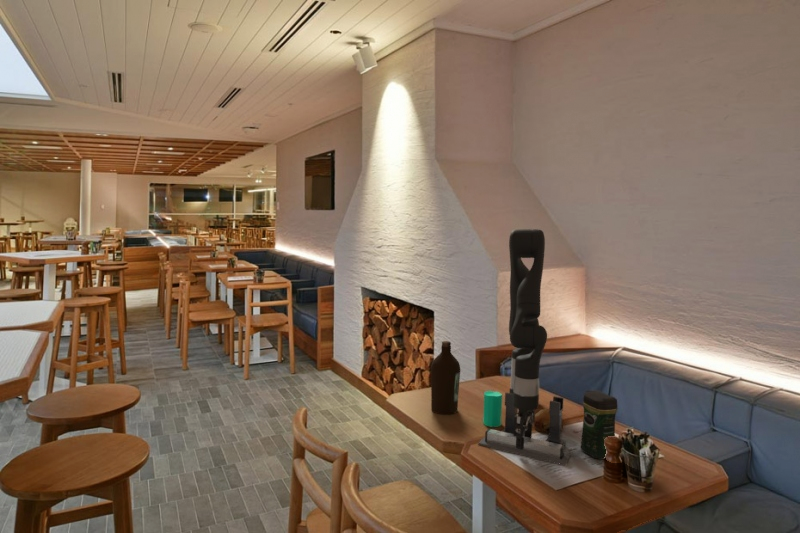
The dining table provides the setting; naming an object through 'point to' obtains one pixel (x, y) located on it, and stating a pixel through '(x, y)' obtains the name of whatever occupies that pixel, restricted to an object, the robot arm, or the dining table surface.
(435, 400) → the olive oil
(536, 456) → the mat
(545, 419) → the bread roll
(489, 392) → the candle
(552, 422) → the post pair
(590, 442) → the coffee jar
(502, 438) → the rail
